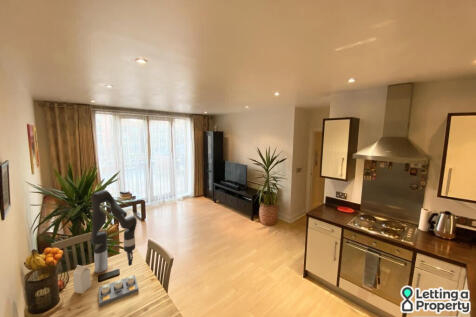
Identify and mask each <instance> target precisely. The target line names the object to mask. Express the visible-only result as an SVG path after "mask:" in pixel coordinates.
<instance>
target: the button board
mask: <svg viewBox="0 0 476 317" xmlns="http://www.w3.org/2000/svg"><path fill="white" fill-rule="evenodd" d="M132 276H134V283H133V284H132V285H127V278H128V277H129V276H127V277H125V278H121V279H120V280H122V288H121V289H118V290H116V289H115V282H116V281H113V282H111V283H108V284H109V285H110V291H109V293H107V294H104V295H103V294H102V286H103V285H101V286H99V287H98V302H99V303H98V305H99V308H101V307H104V306H106V304H107V305H109V304H111V303H114V302H118V301H119V300H121V299H124V298H126V297H129V296H131V295H135V294H136V293H139V285H138V282H137V277H136V275H135V274H133V275H132Z"/></svg>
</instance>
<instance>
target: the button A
mask: <svg viewBox="0 0 476 317" xmlns="http://www.w3.org/2000/svg"><path fill="white" fill-rule="evenodd" d="M109 284H110V283H107V284H104V285H101V286H102V294H103V295H104V294H107V293H109V291H110V285H109Z"/></svg>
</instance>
